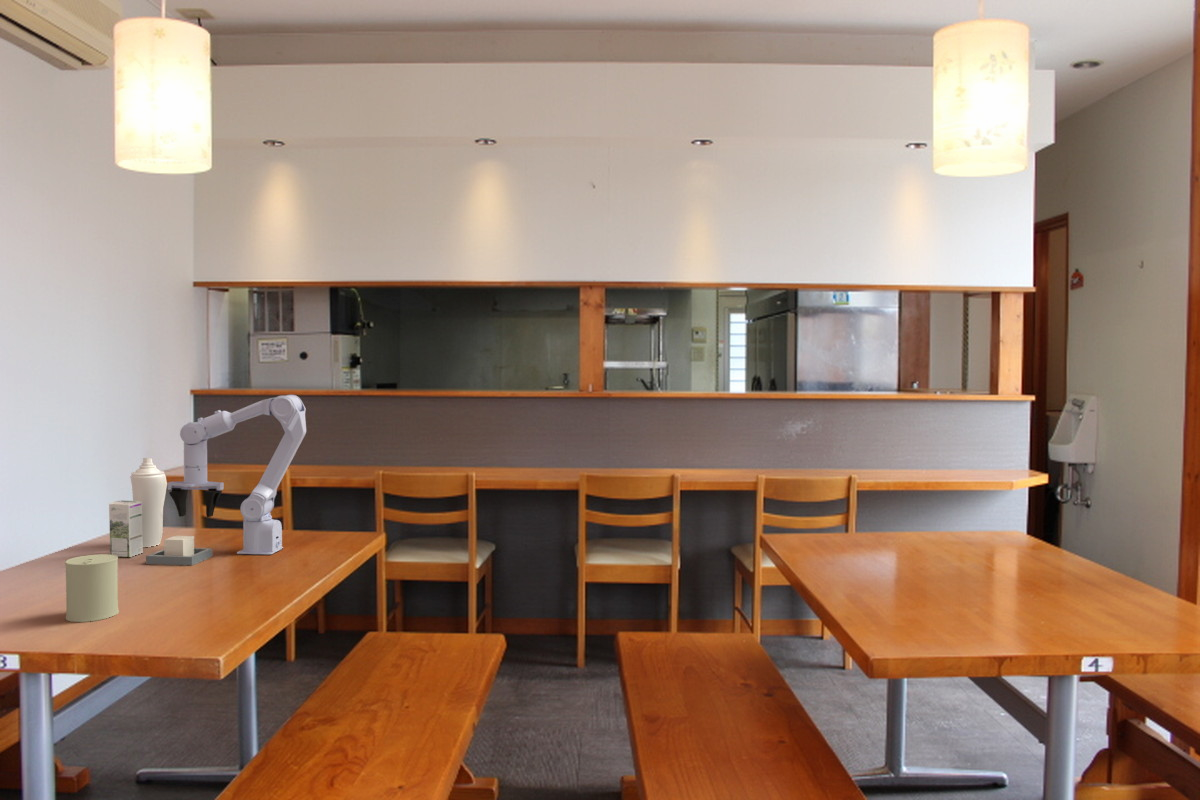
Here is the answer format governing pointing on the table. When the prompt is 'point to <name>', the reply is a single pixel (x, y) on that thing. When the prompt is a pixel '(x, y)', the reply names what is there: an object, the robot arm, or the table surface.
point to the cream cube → (179, 546)
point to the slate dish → (179, 557)
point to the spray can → (150, 500)
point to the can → (91, 587)
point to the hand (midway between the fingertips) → (196, 516)
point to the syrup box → (125, 528)
